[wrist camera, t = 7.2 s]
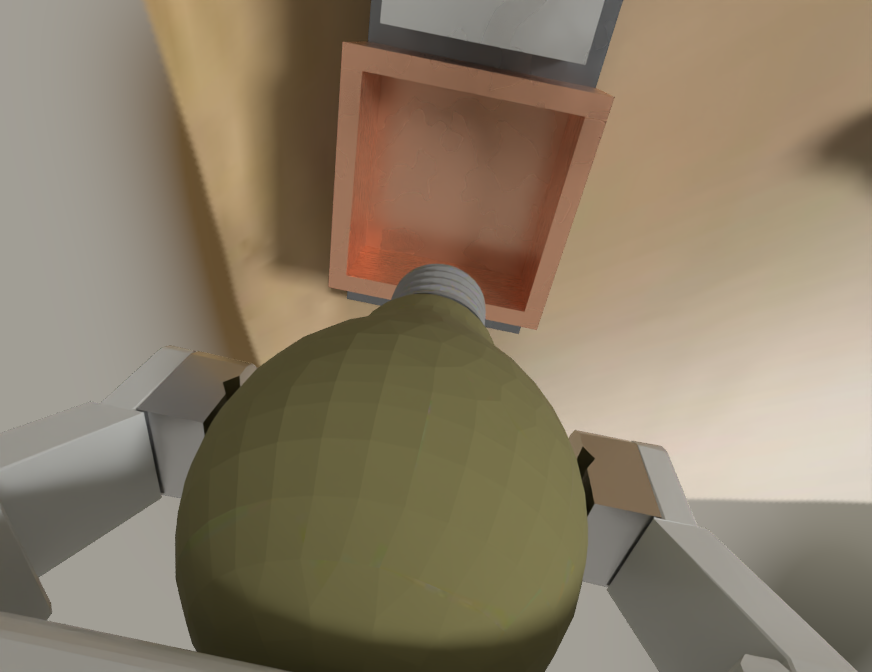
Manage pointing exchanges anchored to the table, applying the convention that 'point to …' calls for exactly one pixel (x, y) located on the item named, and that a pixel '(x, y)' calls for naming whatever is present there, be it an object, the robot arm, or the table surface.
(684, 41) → the table surface
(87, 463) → the robot arm
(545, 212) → the desk organizer
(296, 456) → the light bulb
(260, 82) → the table surface
